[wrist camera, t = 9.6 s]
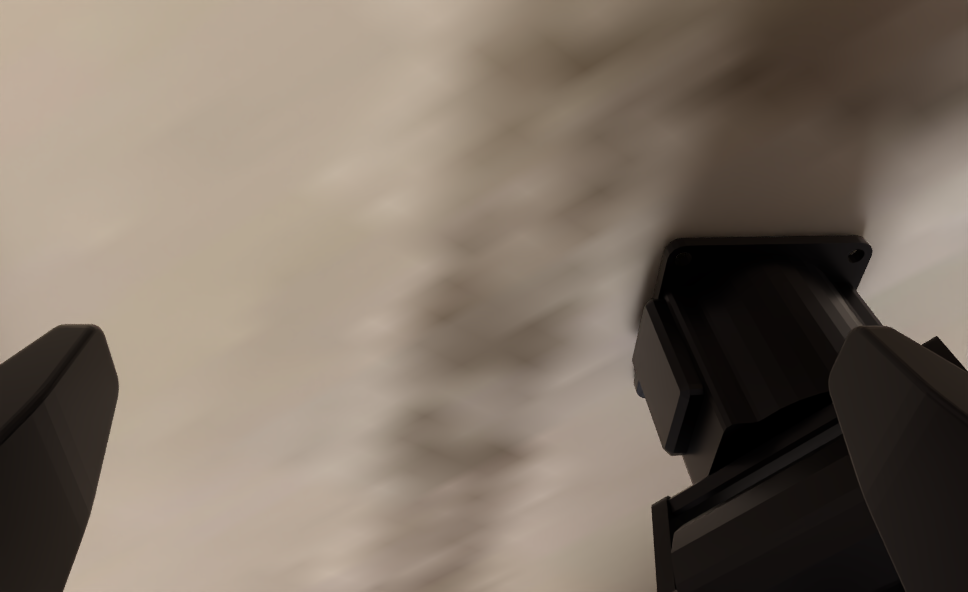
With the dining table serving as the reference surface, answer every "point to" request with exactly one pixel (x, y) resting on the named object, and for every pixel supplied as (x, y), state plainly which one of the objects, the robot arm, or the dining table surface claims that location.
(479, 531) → the dining table surface
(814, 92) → the dining table surface
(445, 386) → the dining table surface
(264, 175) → the dining table surface
